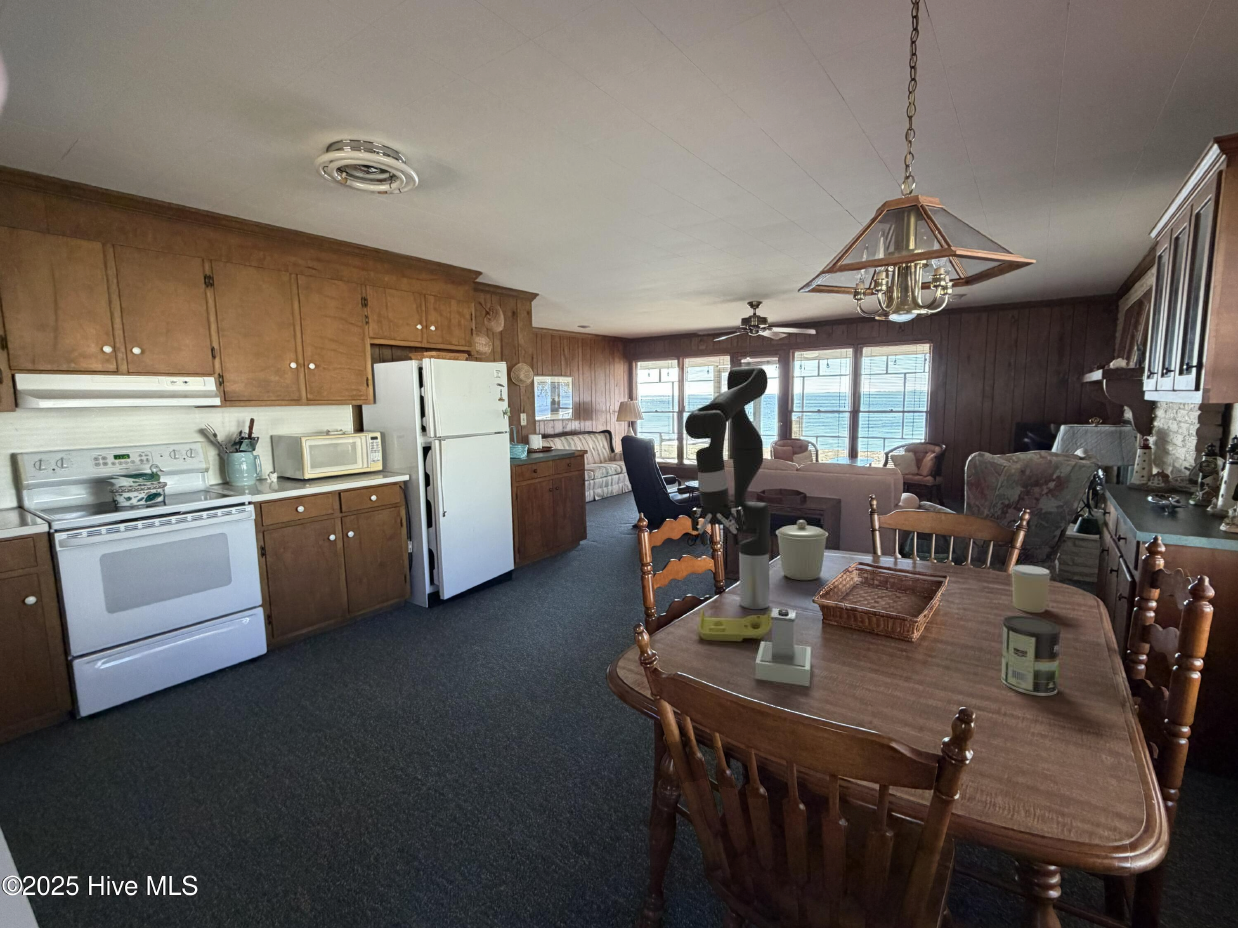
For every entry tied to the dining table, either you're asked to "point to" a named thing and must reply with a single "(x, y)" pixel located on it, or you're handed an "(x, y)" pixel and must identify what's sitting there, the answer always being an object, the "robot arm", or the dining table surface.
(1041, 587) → the cream jar
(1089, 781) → the dining table surface
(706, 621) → the plastic component
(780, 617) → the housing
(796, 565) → the canister
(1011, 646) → the coffee can
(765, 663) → the stand
